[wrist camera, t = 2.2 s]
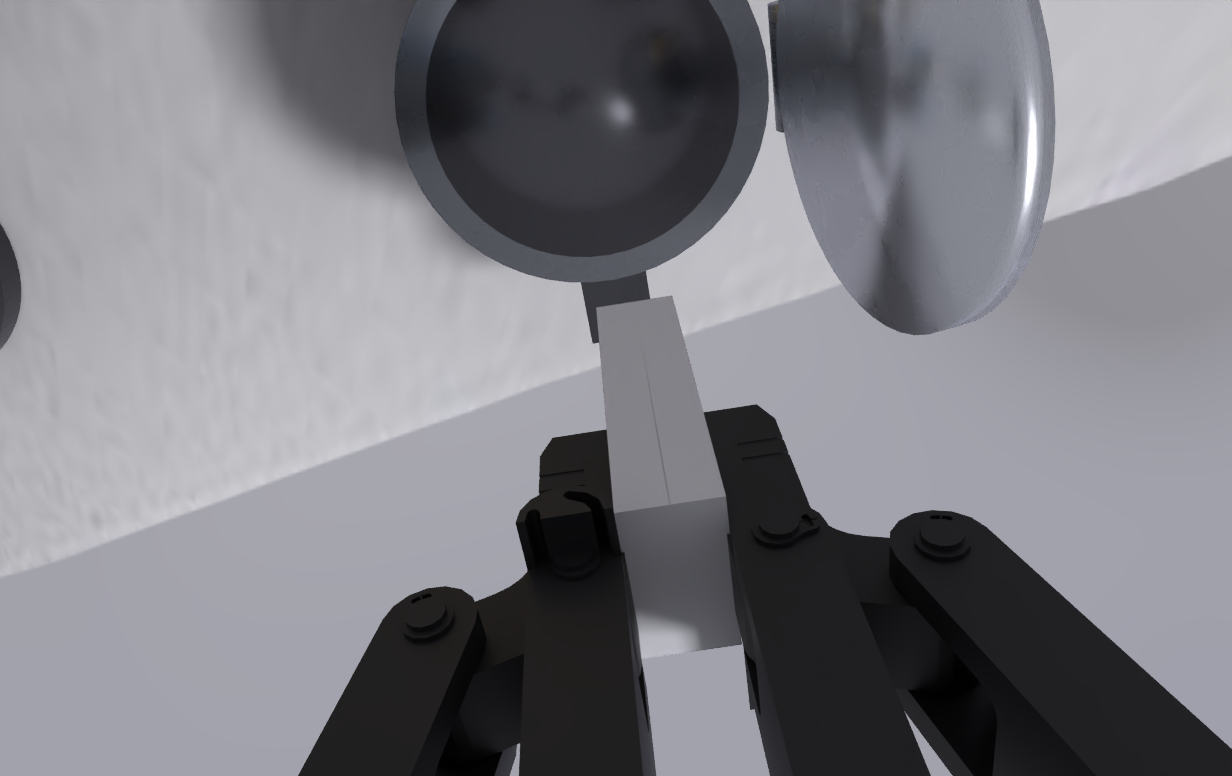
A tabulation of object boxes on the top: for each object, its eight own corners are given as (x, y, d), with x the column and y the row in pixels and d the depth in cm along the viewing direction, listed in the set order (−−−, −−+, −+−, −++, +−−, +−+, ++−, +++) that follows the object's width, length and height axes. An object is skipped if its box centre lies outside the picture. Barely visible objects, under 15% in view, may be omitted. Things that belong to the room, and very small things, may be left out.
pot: (478, 290, 51) (466, 377, 42) (360, -164, 40) (313, -174, 31) (773, 237, 50) (824, 313, 42) (738, -234, 39) (797, -264, 31)
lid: (996, 415, 27) (1102, 383, 28) (1034, -167, 20) (1178, -195, 20) (789, 251, 40) (863, 231, 40) (763, -139, 32) (855, -156, 33)
